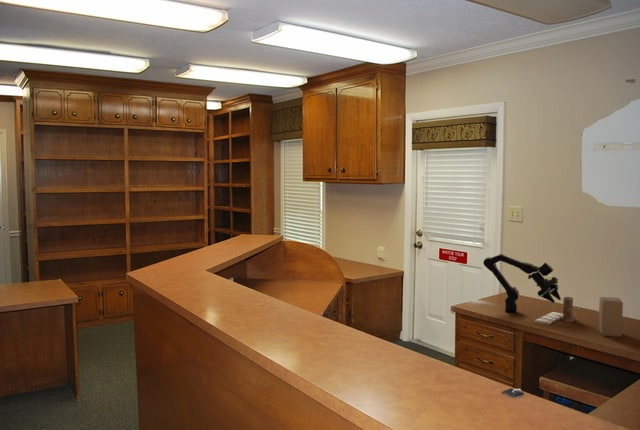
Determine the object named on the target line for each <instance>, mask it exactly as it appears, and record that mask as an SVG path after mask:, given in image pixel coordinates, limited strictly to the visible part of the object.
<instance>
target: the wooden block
mask: <svg viewBox="0 0 640 430" xmlns="http://www.w3.org/2000/svg"><path fill="white" fill-rule="evenodd" d="M598 305H599V308H598V310H599V311H598V332H599V333H600V335H601V336H602V337H614V338H621V337H622V334H623V332H622V331H623V312H624V311H623V308H624V307H623V306H624V302H623V301H622V300H621V299H620V298H619V297H609V296H600V297H599V303H598Z"/></svg>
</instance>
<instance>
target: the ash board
mask: <svg viewBox="0 0 640 430" xmlns="http://www.w3.org/2000/svg"><path fill="white" fill-rule="evenodd" d="M561 316H563V312H561V313H560V312H555V311H551V312H550V313H546V314H545V315H543V316H541V317H539V318H537V319H535V320H534V323H537V324H542V325H546V326H549V325H551V324H553V323H555V322H557V321H560V317H561Z"/></svg>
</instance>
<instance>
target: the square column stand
mask: <svg viewBox="0 0 640 430" xmlns="http://www.w3.org/2000/svg"><path fill="white" fill-rule="evenodd" d="M562 302H563V307H562V308H563V311H562V314H563V316H561V317H560V319H559V321H561V322H567V323H570V324H572V323H573V322H575V321H577V317H576V316H573V311H574V310H573V309H574V308H573V307H574V306H573V305H574V297H570V296H564V297H563V301H562Z"/></svg>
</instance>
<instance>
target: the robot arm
mask: <svg viewBox="0 0 640 430" xmlns="http://www.w3.org/2000/svg"><path fill="white" fill-rule="evenodd" d="M499 262H502V263H506V264H507V265H511V266H514V267H515V268H518V269H520V270H521V271H522V272H524V273H525V274H527V275H528V276H527V279H528V280H531V279H532V280H533V282H534V283H536V287H539V289H540V290H538V291H537V296H538V297H541V298H543V299H545V300H547V301H549V302H551V303H555V302H556V301H555V299H557V300H559V301H561V300H562V299H561V296H560V294H559V292H558V290H559V285H558V283H559V282H558V280H559V279H558V278H557V277H556V276H552V277H551V279H548V278H545V277H547V276H549V275H550V274H551V273H553V272H554V269H553V268H552V266H551V265H549V264H548V263H547V262H544V263H543V264H542V265H541V266H536V265H534V264H532V263H528V262H522V261H519V260H517V259H515V258H512V257H509V256H507V255H504V254H503V253H500V254H498V255H496V256H495V255H494V256H492V257H490V256H489V257H488V256H487V257H486V258H485V259H484V260H483V266H484V267H485V268H486V269H487V270H489V271H490V272H491V273H492V274H493V275H494V277H495V278H496V279H497V281H498V282H499V283H500V284H501V286H502V287H503V289H504V290H505V293H506V295H507V297H506V298H505V299H504V301H505V306H504V307H505V308H504V310H505V311H504V312H505V313H513V314H514V313H516V312H517V311H518V310H517V307H518V306H517V305H518V304H517V302H516V301H518V299H519V298H520V291H519V290H518V289H517V287H516V286H511V284H510V282H508V280H507V279H506V277H504V275H503V274H502V272H501V271H500V269H499V267H498V266H497V264H496V263H499ZM554 298H555V299H554Z"/></svg>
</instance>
